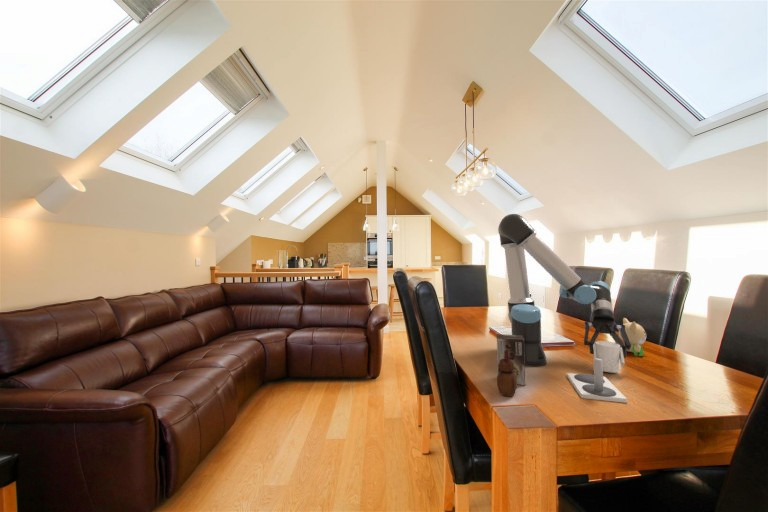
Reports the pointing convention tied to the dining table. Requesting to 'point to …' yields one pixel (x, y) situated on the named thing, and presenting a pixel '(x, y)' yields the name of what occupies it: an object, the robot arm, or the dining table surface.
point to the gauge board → (590, 396)
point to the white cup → (608, 355)
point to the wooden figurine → (506, 377)
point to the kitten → (634, 336)
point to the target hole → (586, 378)
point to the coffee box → (512, 354)
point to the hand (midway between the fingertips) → (609, 362)
